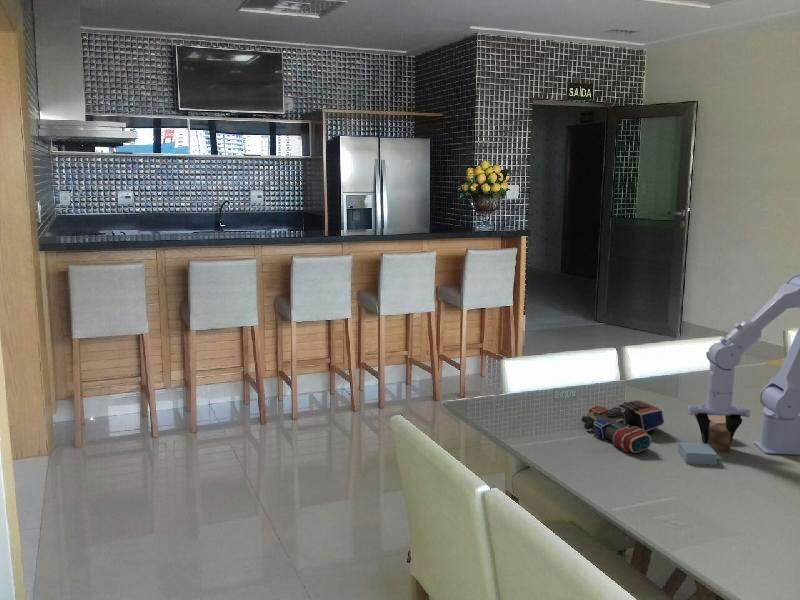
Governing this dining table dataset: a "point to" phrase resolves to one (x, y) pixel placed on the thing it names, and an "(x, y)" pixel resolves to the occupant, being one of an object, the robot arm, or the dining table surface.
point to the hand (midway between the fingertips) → (716, 442)
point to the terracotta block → (717, 421)
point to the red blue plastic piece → (625, 424)
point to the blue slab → (697, 453)
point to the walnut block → (719, 438)
